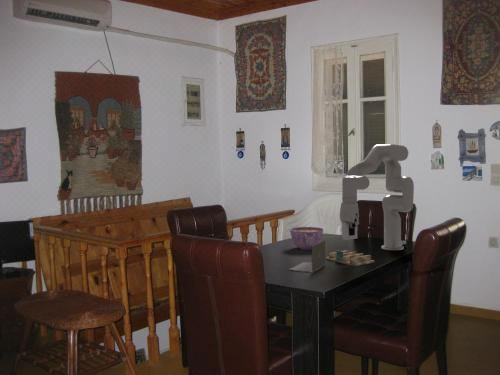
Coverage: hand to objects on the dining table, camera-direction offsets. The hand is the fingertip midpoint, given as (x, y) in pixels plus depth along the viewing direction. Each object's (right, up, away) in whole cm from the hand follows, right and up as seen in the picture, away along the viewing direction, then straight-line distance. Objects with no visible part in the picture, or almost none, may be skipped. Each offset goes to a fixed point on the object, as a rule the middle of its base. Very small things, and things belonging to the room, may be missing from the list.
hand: (349, 234), depth 267 cm
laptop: (-24, -16, -13) cm, 31 cm away
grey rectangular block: (0, -2, 0) cm, 2 cm away
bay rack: (0, -14, +1) cm, 14 cm away
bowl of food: (-18, -12, +36) cm, 43 cm away
